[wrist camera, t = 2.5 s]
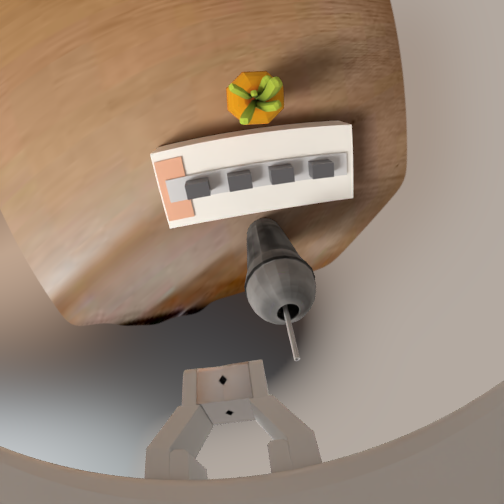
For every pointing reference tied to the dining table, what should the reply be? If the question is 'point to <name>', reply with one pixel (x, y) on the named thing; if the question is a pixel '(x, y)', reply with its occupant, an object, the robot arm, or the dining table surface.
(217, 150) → the breaker panel
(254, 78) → the carrot
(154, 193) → the dining table surface
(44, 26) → the dining table surface
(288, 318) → the beverage cup
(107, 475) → the robot arm
